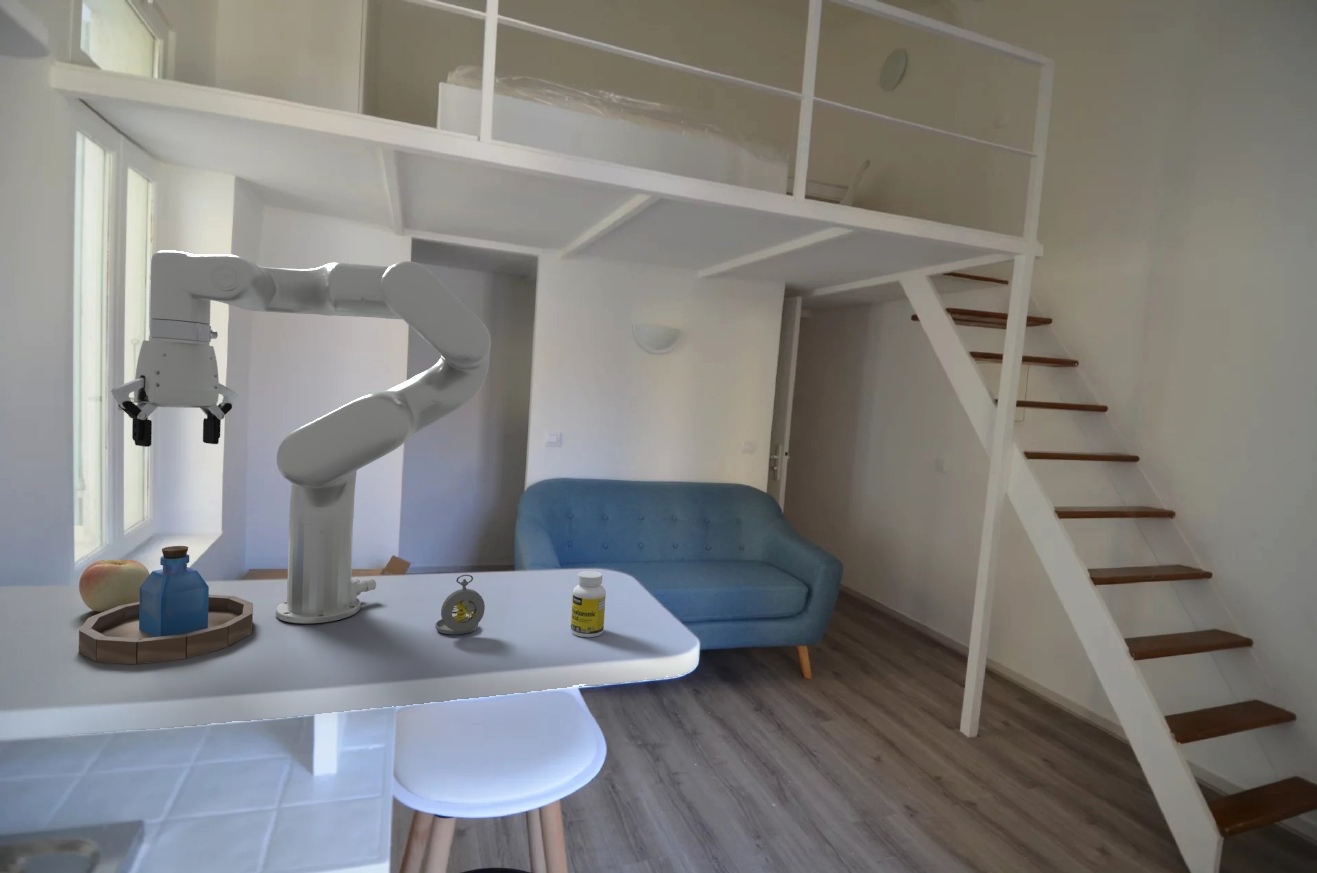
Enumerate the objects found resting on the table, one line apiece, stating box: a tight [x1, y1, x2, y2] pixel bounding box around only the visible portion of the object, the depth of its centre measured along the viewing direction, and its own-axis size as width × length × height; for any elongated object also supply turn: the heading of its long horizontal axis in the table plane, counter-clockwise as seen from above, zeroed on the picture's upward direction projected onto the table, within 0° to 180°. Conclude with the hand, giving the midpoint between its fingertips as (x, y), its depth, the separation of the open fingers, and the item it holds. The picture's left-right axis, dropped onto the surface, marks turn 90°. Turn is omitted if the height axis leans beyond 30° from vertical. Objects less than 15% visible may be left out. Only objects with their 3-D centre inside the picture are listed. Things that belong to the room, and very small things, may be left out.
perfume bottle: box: [139, 545, 210, 637], centre depth 97 cm, size 6×6×12 cm
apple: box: [78, 559, 150, 613], centre depth 106 cm, size 9×9×8 cm
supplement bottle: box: [570, 570, 607, 638], centre depth 109 cm, size 5×5×10 cm
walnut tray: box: [78, 594, 254, 665], centre depth 97 cm, size 20×20×3 cm
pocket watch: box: [434, 574, 486, 635], centre depth 105 cm, size 8×8×10 cm
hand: (178, 444), depth 103 cm, fingers open, 9 cm apart
